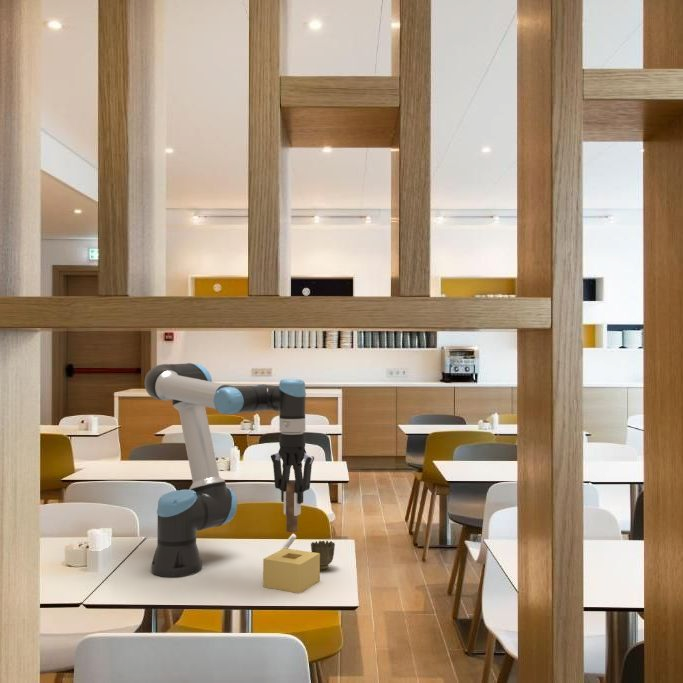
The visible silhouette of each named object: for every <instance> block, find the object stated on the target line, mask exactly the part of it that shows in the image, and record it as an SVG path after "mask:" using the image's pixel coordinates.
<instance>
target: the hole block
mask: <svg viewBox="0 0 683 683" xmlns="http://www.w3.org/2000/svg"><path fill="white" fill-rule="evenodd" d="M262 562H263V564H262V568H263V569H262V571H263V572H262V575H263V578H262V580H263V581H262V582H263V583H262V587H263V586H264V587H263V588H266V587H268V589H272V588H273V590H280V591H285V592H290V593H297V594H302V593H303V592H305V591H306V590H308V589H309V588H311V587H312V586H314V585H315V584H317V583H318V582H320V580H321V579H320V574H321V570H320V553H314V552H312V551H306V550H299V549H292V548H288V549H286V548H284V549H282V550H281V549H280V550H278V551H276V552H274V553H272V554H269V555H268V556H266V557H264V558H263V560H262ZM304 590H305V591H304Z"/></svg>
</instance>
